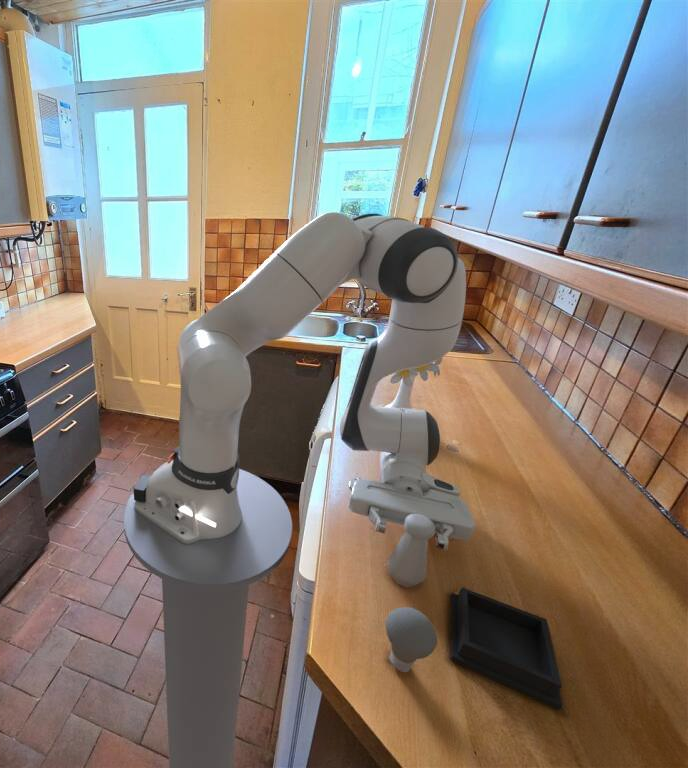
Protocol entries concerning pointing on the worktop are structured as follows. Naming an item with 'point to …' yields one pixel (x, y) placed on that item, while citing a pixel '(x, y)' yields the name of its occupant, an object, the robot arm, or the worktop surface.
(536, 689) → the pad
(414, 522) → the salt shaker
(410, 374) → the flower vase
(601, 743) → the worktop surface
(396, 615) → the light bulb
